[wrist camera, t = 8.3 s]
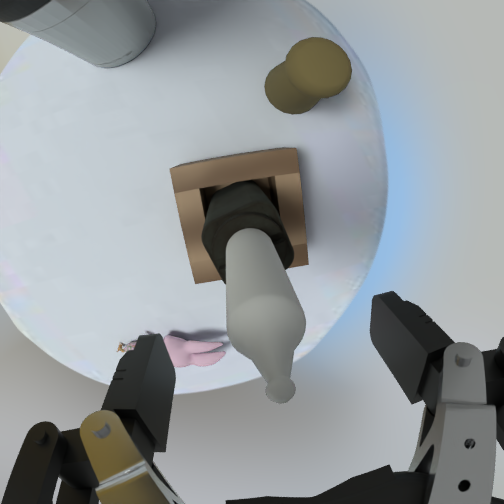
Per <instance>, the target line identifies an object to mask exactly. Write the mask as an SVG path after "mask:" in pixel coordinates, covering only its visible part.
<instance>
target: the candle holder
mask: <svg viewBox="0 0 504 504" xmlns="http://www.w3.org/2000/svg"><path fill="white" fill-rule="evenodd" d="M170 173H171V179H172V184H173V189H174V194H175V199H176V203H177V208H178V213H179V217H180V222H181V227H182V231H183V235H184V240H185V244H186V248H187V253H188V257H189V261H190V265H191V269H192V273H193V277H194V281H195V284H198V283H205V282H211V281H217V280H222V279H221V277H220V275H219V273H218V271H217V270H216V268H215V266H214V264H213V262H212V260H211V259H210V257H209V255H208V253H207V251H206V249H205V247H204V246H203V243H202V239H201V235H202V230H203V226H204V223H205V219H206V215H207V212H208V208H209V205H210V201H211V198H212V195H213V194H214V193H215V192H216V191H217V190H220V189H222V188H224V187H226V186H228V185H230V184H232V183H235V182H239V181H245V180H251V179H252V180H254V181H255V182H256V183H257V185H258V186H259V187H260V189H261V190H262V191H263V192H264V194H265V195H266V196H267V197H268V199H269V200H270V201H271V203H272V204H273V205H274V206H275V208H276V210H277V211H278V214H279V216H280V218H281V221H282V223H283V225H284V228H285V230H286V232H287V235H288V237H289V239H290V242H291V244H292V247H293V249H294V260H293V263H292V264H291V266H290V267H289V268H292V267H298V266H303V265H309V263H308V250H307V239H306V228H305V218H304V208H303V198H302V189H301V181H300V172H299V164H298V156H297V149H296V148H275V149H267V150H260V151H253V152H246V153H240V154H234V155H228V156H222V157H216V158H211V159H205V160H200V161H195V162H190V163H185V164H180V165H178V166H175V167H173V168H170Z"/></svg>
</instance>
